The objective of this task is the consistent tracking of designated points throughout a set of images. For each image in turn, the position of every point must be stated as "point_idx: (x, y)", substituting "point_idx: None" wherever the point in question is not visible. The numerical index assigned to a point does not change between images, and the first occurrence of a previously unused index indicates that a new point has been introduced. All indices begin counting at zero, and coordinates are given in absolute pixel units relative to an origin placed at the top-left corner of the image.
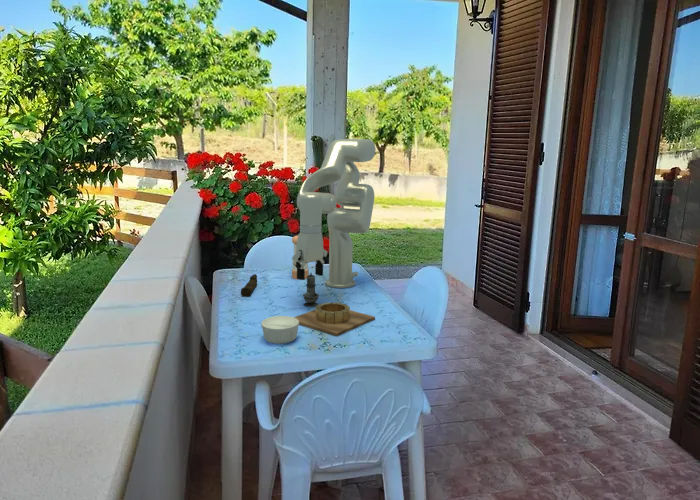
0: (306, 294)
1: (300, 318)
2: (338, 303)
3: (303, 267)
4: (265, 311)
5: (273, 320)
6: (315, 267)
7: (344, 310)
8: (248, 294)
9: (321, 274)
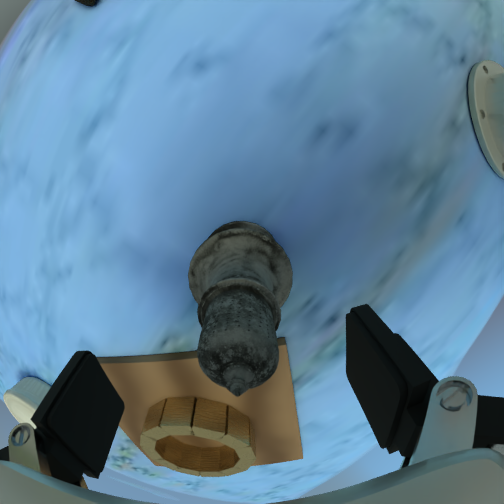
0: (204, 284)
1: None
2: (241, 447)
3: (84, 484)
4: (39, 218)
5: (21, 411)
6: (378, 360)
7: (213, 473)
8: (84, 3)
9: (350, 381)
